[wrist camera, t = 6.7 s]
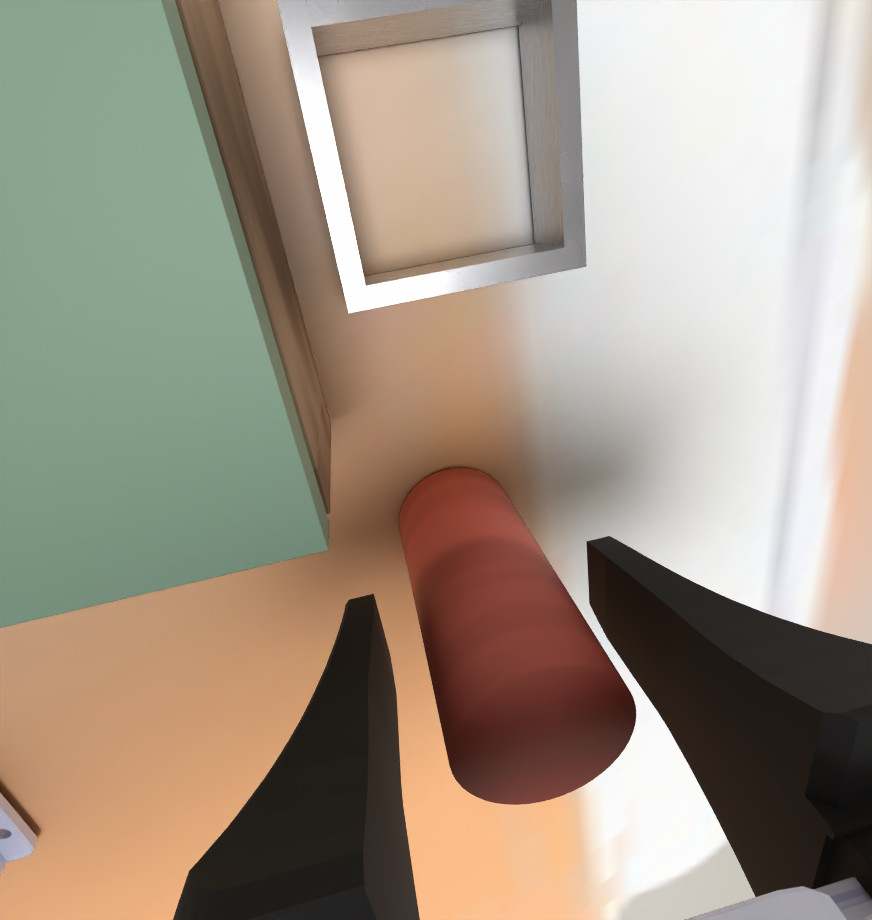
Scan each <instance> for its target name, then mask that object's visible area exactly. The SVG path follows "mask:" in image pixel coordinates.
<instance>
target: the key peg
mask: <svg viewBox="0 0 872 920" xmlns="http://www.w3.org/2000/svg"><path fill="white" fill-rule="evenodd" d="M399 529H400V535H401V539H402V544H403V549H404V553H405V558H406V563H407V567H408V572H409V577H410V582H411V586H412V591H413V596H414V600H415V605H416V610H417V614H418V619H419V624H420V629H421V633H422V638H423V643H424V647H425V652H426V657H427V661H428V666H429V671H430V676H431V680H432V685H433V690H434V694H435V699H436V704H437V708H438V713H439V718H440V723H441V727H442V732H443V737H444V741H445V746H446V751H447V755H448V760H449V765H450V768H451V771H452V774H453V775H454V777H455V779H456V781H457V782H458V783H459V784H460V785H461V786H462V787H463V788H464V789H465V790H466V791H468V792H469V793H471V794H472V795H474V796H476V797H478V798H481V799H483V800H486V801H490V802H494V803H500V804H516V805H517V804H530V803H536V802H541V801H546V800H550V799H553V798H556V797H559V796H562V795H564V794H567V793H569V792H572V791H574V790H576V789H578V788H580V787H582V786H583V785H585V784H587V783H588V782H590V781H591V780H593V779H594V778H596V777H597V776H598V775H600V774H601V773H602V772H604V771H605V770H606V769H607V768H608V767H609V766H610V765H611V764H612V763H613V762H614V761H615V760H616V759H617V758H618V757H619V755H620V754H621V753H622V751H623V750H624V749H625V747H626V745H627V744H628V742H629V740H630V738H631V735H632V733H633V730H634V726H635V722H636V706H635V702H634V699H633V696H632V694H631V692H630V691H629V689H628V687H627V686H626V684H625V683H624V681H623V679H622V678H621V676H620V675H619V673H618V671H617V670H616V668H615V667H614V665H613V663H612V662H611V660H610V659H609V657H608V655H607V654H606V652H605V651H604V649H603V647H602V646H601V644H600V643H599V641H598V639H597V638H596V636H595V635H594V633H593V631H592V630H591V628H590V627H589V625H588V623H587V622H586V620H585V619H584V617H583V615H582V614H581V612H580V611H579V609H578V608H577V606H576V604H575V603H574V601H573V600H572V598H571V596H570V595H569V593H568V592H567V590H566V588H565V587H564V585H563V584H562V582H561V580H560V579H559V577H558V576H557V574H556V572H555V571H554V569H553V568H552V566H551V564H550V563H549V561H548V560H547V558H546V556H545V555H544V553H543V552H542V550H541V548H540V547H539V545H538V544H537V542H536V540H535V539H534V537H533V536H532V534H531V532H530V531H529V529H528V528H527V526H526V524H525V523H524V521H523V520H522V518H521V517H520V515H519V513H518V512H517V510H516V509H515V507H514V505H513V504H512V502H511V501H510V499H509V497H508V496H507V494H506V493H505V491H504V489H503V488H502V487H501V485H500V484H499V483H498V482H497V481H496V480H495V479H493V478H492V477H491V476H489V475H487V474H485V473H483V472H481V471H478V470H474V469H469V468H453V469H447V470H444V471H440V472H437V473H435V474H433V475H431V476H429V477H427V478H425V479H424V480H423V481H421V482H420V483H419V484H418V485H417V486H416V487H414V489H413V490H412V491H411V492H410V493H409V495H408V496H407V498H406V499H405V501H404V503H403V506H402V508H401V512H400V517H399Z"/></svg>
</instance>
